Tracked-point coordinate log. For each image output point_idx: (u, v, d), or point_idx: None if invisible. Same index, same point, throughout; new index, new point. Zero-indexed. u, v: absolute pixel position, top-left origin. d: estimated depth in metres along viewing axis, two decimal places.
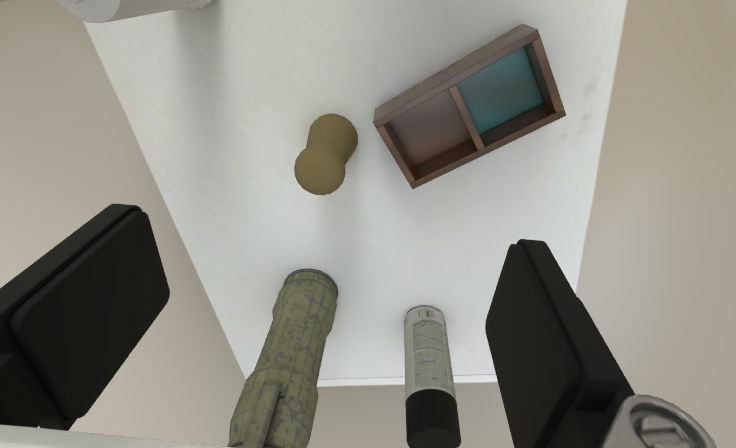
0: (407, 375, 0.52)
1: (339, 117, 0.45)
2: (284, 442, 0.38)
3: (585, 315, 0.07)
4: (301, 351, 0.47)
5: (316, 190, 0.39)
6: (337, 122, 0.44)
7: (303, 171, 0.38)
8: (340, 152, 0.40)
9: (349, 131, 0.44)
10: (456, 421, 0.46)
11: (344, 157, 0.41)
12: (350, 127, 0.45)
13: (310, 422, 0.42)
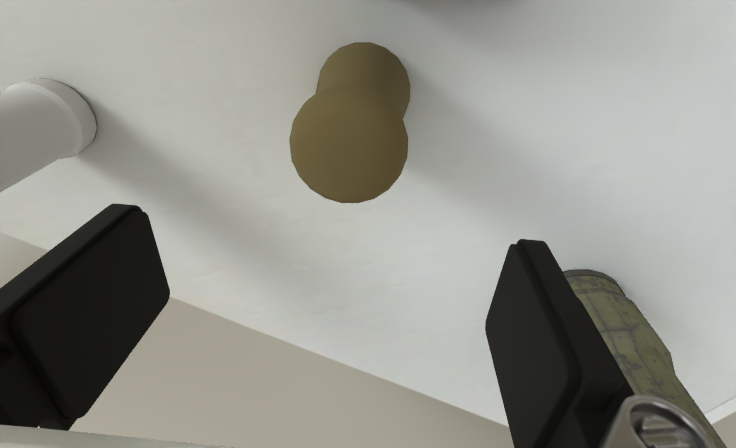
0: None
1: (333, 55, 0.23)
2: None
3: (585, 315, 0.07)
4: None
5: (373, 183, 0.16)
6: (332, 61, 0.22)
7: (316, 177, 0.16)
8: None
9: (360, 51, 0.22)
10: None
11: (375, 85, 0.18)
12: (358, 47, 0.22)
13: None
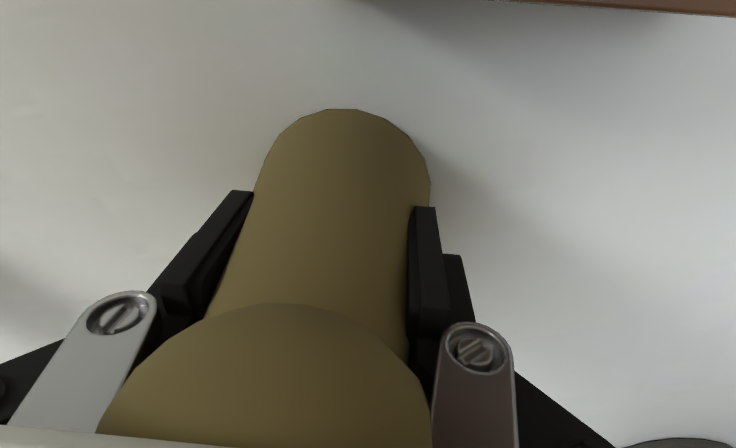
0: None
1: (287, 132, 0.12)
2: None
3: (442, 262, 0.08)
4: None
5: None
6: (279, 153, 0.11)
7: None
8: (306, 269, 0.07)
9: (333, 136, 0.11)
10: None
11: (356, 259, 0.07)
12: (332, 123, 0.11)
13: None
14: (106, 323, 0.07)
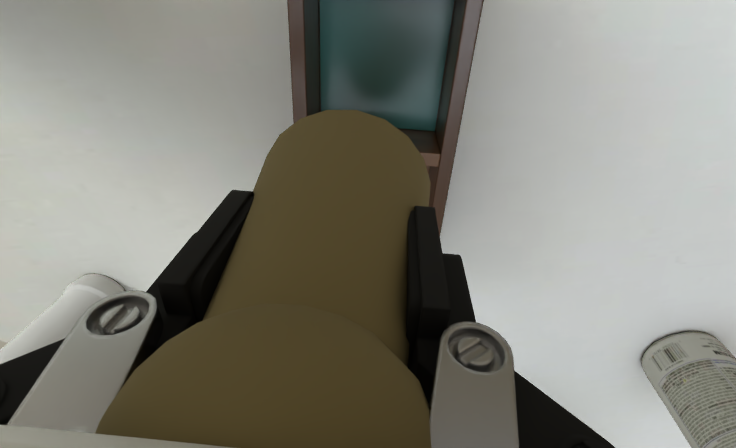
0: None
1: (287, 133, 0.12)
2: None
3: (442, 262, 0.08)
4: None
5: None
6: (279, 153, 0.11)
7: None
8: (306, 270, 0.07)
9: (333, 137, 0.11)
10: None
11: (356, 260, 0.07)
12: (332, 124, 0.11)
13: None
14: (106, 323, 0.07)
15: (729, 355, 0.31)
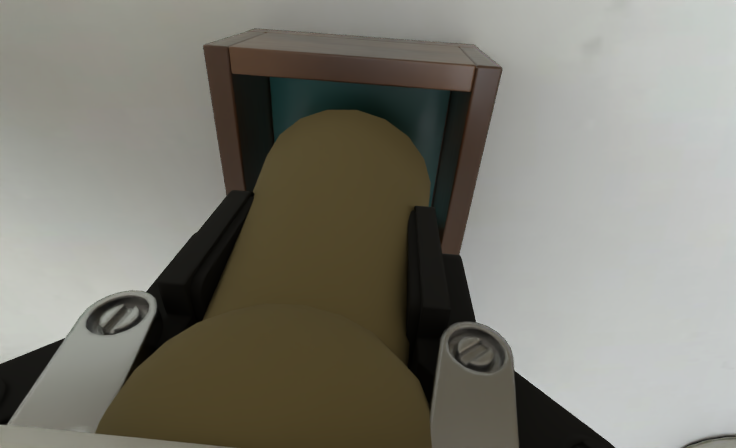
0: None
1: (287, 133, 0.12)
2: None
3: (442, 262, 0.08)
4: None
5: None
6: (279, 153, 0.11)
7: None
8: (306, 270, 0.07)
9: (333, 137, 0.11)
10: None
11: (356, 260, 0.07)
12: (332, 124, 0.11)
13: None
14: (106, 323, 0.07)
15: None
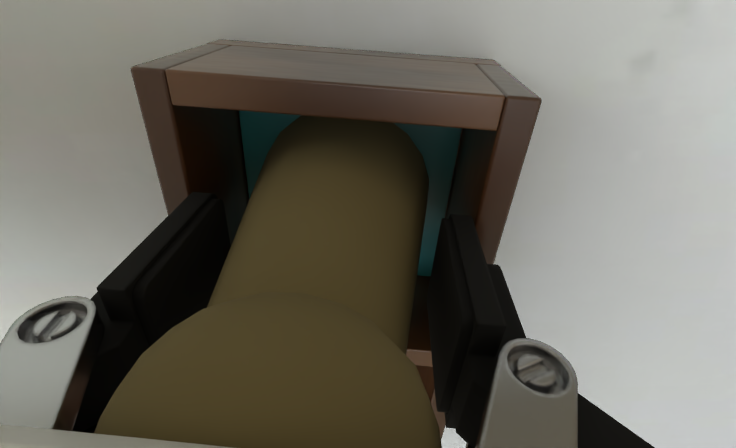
0: None
1: (287, 130, 0.12)
2: None
3: (489, 275, 0.08)
4: None
5: None
6: (280, 150, 0.11)
7: None
8: (306, 260, 0.07)
9: (333, 133, 0.11)
10: None
11: (356, 251, 0.07)
12: (332, 120, 0.12)
13: None
14: (40, 330, 0.06)
15: None
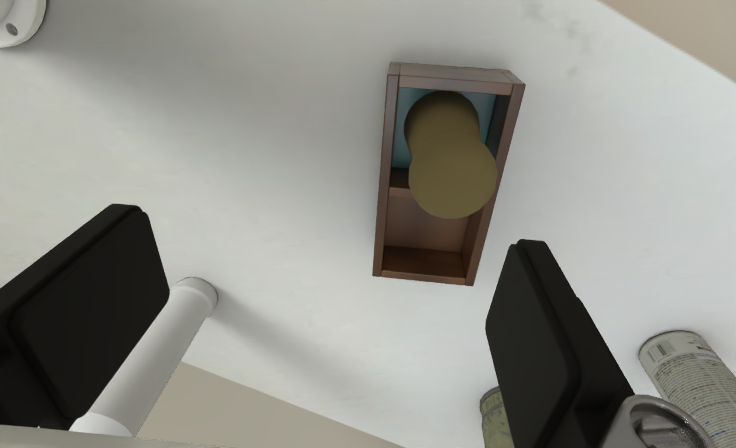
0: None
1: (421, 100, 0.29)
2: None
3: (585, 315, 0.07)
4: None
5: (472, 205, 0.22)
6: (422, 106, 0.28)
7: (430, 200, 0.22)
8: (454, 130, 0.24)
9: (445, 99, 0.28)
10: None
11: (467, 130, 0.24)
12: (443, 95, 0.28)
13: None
14: None
15: (709, 350, 0.39)
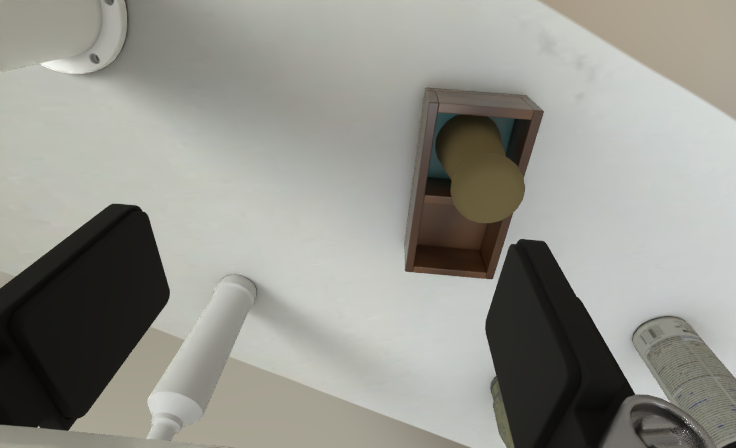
0: None
1: (452, 120, 0.34)
2: None
3: (585, 315, 0.07)
4: None
5: (505, 212, 0.27)
6: (455, 127, 0.33)
7: (471, 208, 0.27)
8: (487, 150, 0.29)
9: (474, 121, 0.33)
10: None
11: (497, 149, 0.29)
12: (471, 117, 0.33)
13: None
14: None
15: (693, 333, 0.45)
